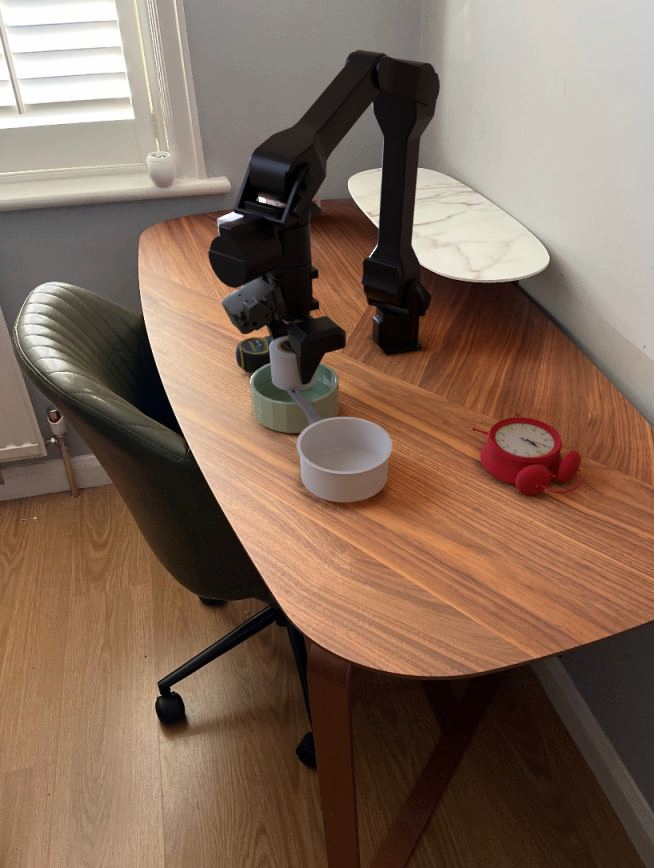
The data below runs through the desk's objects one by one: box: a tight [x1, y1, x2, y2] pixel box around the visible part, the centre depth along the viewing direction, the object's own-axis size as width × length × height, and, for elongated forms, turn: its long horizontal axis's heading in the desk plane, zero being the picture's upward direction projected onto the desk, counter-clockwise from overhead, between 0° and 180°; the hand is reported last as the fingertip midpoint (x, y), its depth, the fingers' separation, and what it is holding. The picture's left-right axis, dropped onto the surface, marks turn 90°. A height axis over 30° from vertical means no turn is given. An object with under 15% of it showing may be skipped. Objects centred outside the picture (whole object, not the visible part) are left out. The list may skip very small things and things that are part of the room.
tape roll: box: [269, 336, 318, 391], centre depth 100 cm, size 6×6×5 cm
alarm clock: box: [472, 413, 583, 496], centre depth 94 cm, size 10×6×15 cm
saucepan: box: [287, 387, 393, 503], centre depth 94 cm, size 12×20×6 cm, turn 31°
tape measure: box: [235, 335, 272, 374], centre depth 113 cm, size 7×7×4 cm
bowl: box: [249, 362, 340, 434], centre depth 103 cm, size 12×12×5 cm
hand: (294, 372), depth 101 cm, fingers closed on tape roll, 6 cm apart
